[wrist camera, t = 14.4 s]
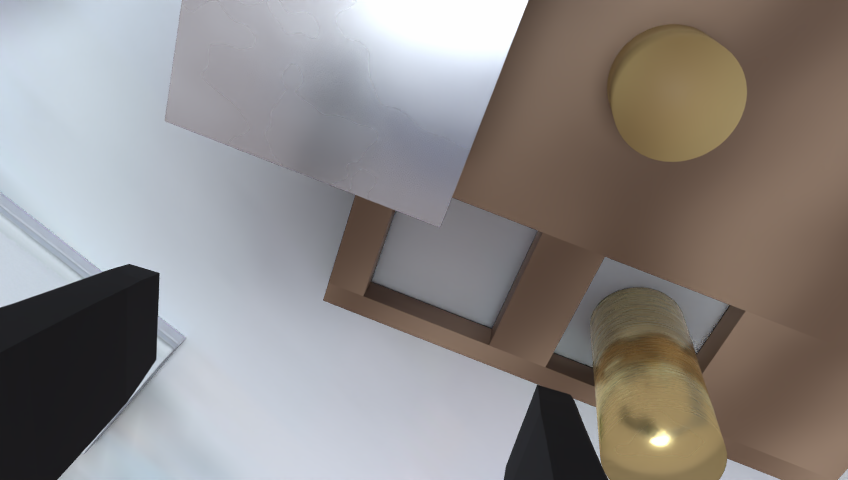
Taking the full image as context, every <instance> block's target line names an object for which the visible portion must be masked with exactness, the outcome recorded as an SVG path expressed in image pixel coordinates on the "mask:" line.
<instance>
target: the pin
mask: <svg viewBox="0 0 848 480" xmlns="http://www.w3.org/2000/svg"><path fill="white" fill-rule="evenodd" d="M590 334H591V347H592V359H593V372H594V384H595V397H596V409H597V422H598V434H599V446H600V458H601V464H602V467H603V469H604V472H605V474H606V475H607V476H608V478H609V479H610V480H719V479H720V478H721V476H722V474H723V472H724V470H725V467H726V463H727V451H726V447H725V444H724V440H723V437H722V434H721V431H720V428H719V425H718V422H717V419H716V416H715V413H714V409H713V406H712V403H711V400H710V397H709V394H708V391H707V388H706V385H705V381H704V378H703V375H702V372H701V369H700V366H699V363H698V360H697V357H696V354H695V350H694V347H693V344H692V341H691V338H690V335H689V332H688V329H687V326H686V322H685V319H684V316H683V314H682V311H681V310H680V308H679V306H678V305H677V304H676V303H675V302H674V301H673V300H672V299H671V298H670V297H668V296H667V295H665V294H663V293H661V292H659V291H656V290H653V289H649V288H628V289H623V290H620V291H617V292H615V293H613V294H611V295H609V296H608V297H606V298H605V299H604V300H603V301H601V302H600V303H599V305H598V306H597V307H596V309H595V310H594V312H593V314H592V317H591V321H590Z"/></svg>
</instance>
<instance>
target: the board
mask: <svg viewBox="0 0 848 480" xmlns="http://www.w3.org/2000/svg"><path fill="white" fill-rule="evenodd" d="M452 198H455V199H457V200H460V201H463V202H465V203H468V204H470V205H473V206H475V207H478V208H481V209H483V210H486V211H488V212H491V213H494V214H496V215H499V216H501V217H504V218H507V219H509V220H512V221H514V222H517V223H519V224H522V225H525V226H527V227H530V228H532V229H535V230H538V232H537V234H536V236H535V238H534V240H533V243H532V245H531V247H530V249H529V251H528V253H527V255H526V257H525V260H524V262H523V264H522V266H521V268H520V270H519V272H518V274H517V277H516V279H515V281H514V283H513V285H512V287H511V289H510V291H509V294H508V296H507V298H506V300H505V302H504V304H503V306H502V308H501V311H500V313H499V315H498V317H497V319H496V321H495V323H494V326H493V328H492V329H490V328H488V327H485V326H483V325H480V324H478V323H475V322H472V321H470V320H467V319H465V318H462V317H460V316H457V315H454V314H452V313H449V312H447V311H444V310H442V309H439V308H437V307H434V306H431V305H429V304H426V303H424V302H421V301H419V300H416V299H413V298H411V297H408V296H406V295H403V294H401V293H398V292H395V291H393V290H390V289H388V288H385V287H383V286H380V285H378V284H375V283H372V282H371V280H372V277H373V274H374V272H375V269H376V266H377V263H378V260H379V257H380V254H381V251H382V248H383V245H384V243H385V240H386V237H387V234H388V231H389V228H390V225H391V222H392V219H393V216H394V214H395V211H396V210H393V209H391V208H388V207H385V206H383V205H380V204H378V203H375V202H373V201H370V200H367V199H365V198H362V197H360V196H357V195H355V198H354V202H353V205H352V208H351V211H350V215H349V218H348V221H347V224H346V228H345V231H344V234H343V237H342V241H341V244H340V247H339V250H338V254H337V257H336V260H335V263H334V267H333V270H332V273H331V276H330V280H329V283H328V286H327V289H326V293H325V296H324V299H323V301H326V302H328V303H331V304H334V305H336V306H339V307H341V308H344V309H346V310H349V311H351V312H354V313H357V314H359V315H362V316H364V317H367V318H369V319H372V320H375V321H377V322H380V323H382V324H385V325H387V326H390V327H392V328H395V329H398V330H400V331H403V332H405V333H408V334H410V335H413V336H415V337H418V338H421V339H423V340H426V341H428V342H431V343H433V344H436V345H438V346H441V347H444V348H446V349H449V350H451V351H454V352H456V353H459V354H461V355H464V356H467V357H469V358H472V359H474V360H477V361H479V362H482V363H484V364H487V365H490V366H492V367H495V368H497V369H500V370H502V371H505V372H507V373H510V374H513V375H515V376H518V377H520V378H523V379H525V380H528V381H530V382H533V383H536V384H538V385H541V386H543V387H547V388H550V389H553V390H557V391H560V392H564V393H567V394H570V395H571V396H572V398H574V399H577V400H579V401H582V402H584V403H587V404H589V405H592V406H594V407H596V397H595V384H594V372H593V368H590V367H588V366H585V365H583V364H580V363H578V362H575V361H572V360H570V359H567V358H565V357H562V356H560V355H557V354H554V353H553V352H554V350H555V348H556V347H557V345H558V343H559V341H560V339H561V337H562V335H563V334H564V332H565V330H566V328H567V326H568V324H569V322H570V321H571V319H572V317H573V315H574V313H575V311H576V309H577V308H578V306H579V304H580V302H581V300H582V298H583V296H584V295H585V293H586V291H587V289H588V287H589V285H590V283H591V282H592V280H593V278H594V276H595V274H596V272H597V270H598V269H599V267H600V265H601V263H602V261H603V259H604V257H607V258H610V259H613V260H615V261H618V262H620V263H623V264H626V265H628V266H631V267H633V268H636V269H638V270H641V271H644V272H646V273H649V274H651V275H654V276H657V277H659V278H662V279H664V280H667V281H670V282H672V283H675V284H677V285H680V286H682V287H685V288H688V289H690V290H693V291H695V292H698V293H701V294H703V295H706V296H708V297H711V298H714V299H716V300H719V301H721V302H724V303H726V304H729V305H730V307H729V308H728V309H727V311H726V312H725V314H724V315H723V317H722V318H721V320H720V321H719V323H718V324H717V326H716V327H715V329H714V330H713V332H712V333H711V335H710V336H709V338H708V339H707V341H706V342H705V344H704V345H703V347H702V348H701V350H700V351H699V353H698V354H697V355H696V357H697V360H698V363H699V366H700V369H701V372H702V375H703V378H704V381H705V385H706V388H707V391H708V394H709V397H710V400H711V403H712V406H713V409H714V413H715V416H716V419H717V422H718V425H719V428H720V431H721V434H722V437H723V440H724V444H725V447H726V451H727V459H730V460H733V461H735V462H738V463H740V464H743V465H745V466H748V467H750V468H753V469H756V470H758V471H761V472H763V473H766V474H768V475H771V476H773V477H776V478H779V479H781V480H838V479H839V477H840V476H841V475H842V474H843V473H844V472H845V471H846V470H847V469H848V0H528V2H527V5H526V8H525V10H524V13H523V15H522V18H521V20H520V23H519V26H518V28H517V31H516V33H515V36H514V39H513V41H512V44H511V46H510V49H509V51H508V54H507V57H506V59H505V62H504V64H503V67H502V70H501V72H500V75H499V77H498V80H497V82H496V85H495V88H494V90H493V93H492V95H491V98H490V101H489V103H488V106H487V108H486V111H485V113H484V116H483V119H482V121H481V124H480V126H479V129H478V132H477V134H476V137H475V139H474V142H473V144H472V147H471V150H470V153H469V155H468V158H467V160H466V163H465V165H464V168H463V171H462V173H461V176H460V178H459V181H458V183H457V186H456V188H455V191H454V194H453V196H452Z"/></svg>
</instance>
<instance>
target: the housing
mask: <svg viewBox="0 0 848 480" xmlns="http://www.w3.org/2000/svg"><path fill="white" fill-rule="evenodd" d="M527 2H528V0H182V4H181V11H180V18H179V25H178V32H177V39H176V46H175V53H174V60H173V67H172V74H171V81H170V88H169V95H168V101H167V108H166V115H165V121H166V122H169V123H171V124H174V125H176V126H179V127H182V128H184V129H187V130H189V131H192V132H194V133H197V134H200V135H202V136H205V137H207V138H210V139H213V140H215V141H218V142H220V143H223V144H225V145H228V146H231V147H233V148H236V149H238V150H241V151H244V152H246V153H249V154H251V155H254V156H256V157H259V158H262V159H264V160H267V161H269V162H272V163H274V164H277V165H280V166H282V167H285V168H287V169H290V170H293V171H295V172H298V173H300V174H303V175H305V176H308V177H311V178H313V179H316V180H318V181H321V182H323V183H326V184H329V185H331V186H334V187H336V188H339V189H342V190H344V191H347V192H349V193H352V194H354V195H357V196H360V197H362V198H365V199H367V200H370V201H373V202H375V203H378V204H380V205H383V206H385V207H388V208H391V209H393V210H396V211H398V212H401V213H403V214H406V215H409V216H411V217H414V218H416V219H419V220H422V221H424V222H427V223H429V224H432V225H434V226H437V227H441V224H442V222H443V219H444V217H445V214H446V211H447V209H448V206H449V204H450V201H451V199H452V196H453V194H454V191H455V188H456V186H457V183H458V181H459V178H460V176H461V173H462V171H463V168H464V165H465V163H466V160H467V158H468V155H469V153H470V150H471V147H472V144H473V142H474V139H475V137H476V134H477V132H478V129H479V126H480V124H481V121H482V119H483V116H484V113H485V111H486V108H487V106H488V103H489V101H490V98H491V95H492V93H493V90H494V88H495V85H496V82H497V80H498V77H499V75H500V72H501V70H502V67H503V64H504V62H505V59H506V57H507V54H508V51H509V49H510V46H511V44H512V41H513V39H514V36H515V33H516V31H517V28H518V26H519V23H520V20H521V18H522V15H523V13H524V10H525V8H526V5H527Z"/></svg>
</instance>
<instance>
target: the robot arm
mask: <svg viewBox="0 0 848 480" xmlns="http://www.w3.org/2000/svg"><path fill="white" fill-rule="evenodd" d="M158 300H159V273H158V272H154V271H151V270H147V269H144V268H141V267H137V266H134V265H131V264H127V265H124V266H120V267H117V268H114V269H111V270H107V271H104V272H101V273H99V274H96V275H93V276H90V277H87V278H84V279H81V280H79V281H76V282H73V283H70V284H67V285H65V286H62V287H59V288H56V289H53V290H50V291H47V292H45V293H42V294H39V295H36V296H33V297H30V298H27V299H25V300H22V301H19V302H16V303H13V304H10V305H7V306H3V307H0V480H57V479H58V478H59V477H60V476H61V475H62V474H63V473H64V472H65V471H66V469H67V468H68V467H69V466H70V465H71V464H72V463H73V462H74V461H75V460H76V459H77V457H78V456H79V455H80V454H81V453H82V452H83V451H84V450H85V449H86V448H87V447H88V445H89V444H90V443H91V442H92V441H93V440H94V439H95V438H96V437H97V436H98V435H99V433H100V432H101V431H102V430H103V429H104V428H105V427H106V426H107V425H108V423H109V422H110V421H111V420H112V419H113V418H114V417H115V416H116V415H117V413H118V412H119V411H120V410H121V409H122V408H123V407H124V405H125V404H126V403H127V402H128V400H129V399H130V398H131V396H132V395H133V393H134V392H135V391H136V389H137V388H138V386H139V385H140V384H141V382H142V381H143V379H144V378H145V376H146V375H147V373H148V372H149V370H150V369H151V367H152V366H153V364H154V363H155V361H156V358H157V329H158ZM504 480H608V478H607V476H606V474H605V472H604V470H603V468H602V466H601V463H600V461H599V459H598V457H597V454H596V452H595V450H594V448H593V445H592V443H591V441H590V438H589V436H588V434H587V431H586V429H585V426H584V424H583V421H582V419H581V416H580V414H579V411H578V409H577V406H576V404H575V401H574V400H573V398H572V396H571V395H570V394H567V393H564V392H560V391H557V390H553V389H550V388H547V387H543V386H540V385H537V387H536V389H535V392H534V395H533V397H532V400H531V403H530V405H529V408H528V410H527V413H526V416H525V418H524V421H523V423H522V426H521V429H520V431H519V434H518V436H517V439H516V442H515V444H514V447H513V449H512V452H511V455H510V457H509V460H508V463H507V465H506V470H505V476H504Z"/></svg>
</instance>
